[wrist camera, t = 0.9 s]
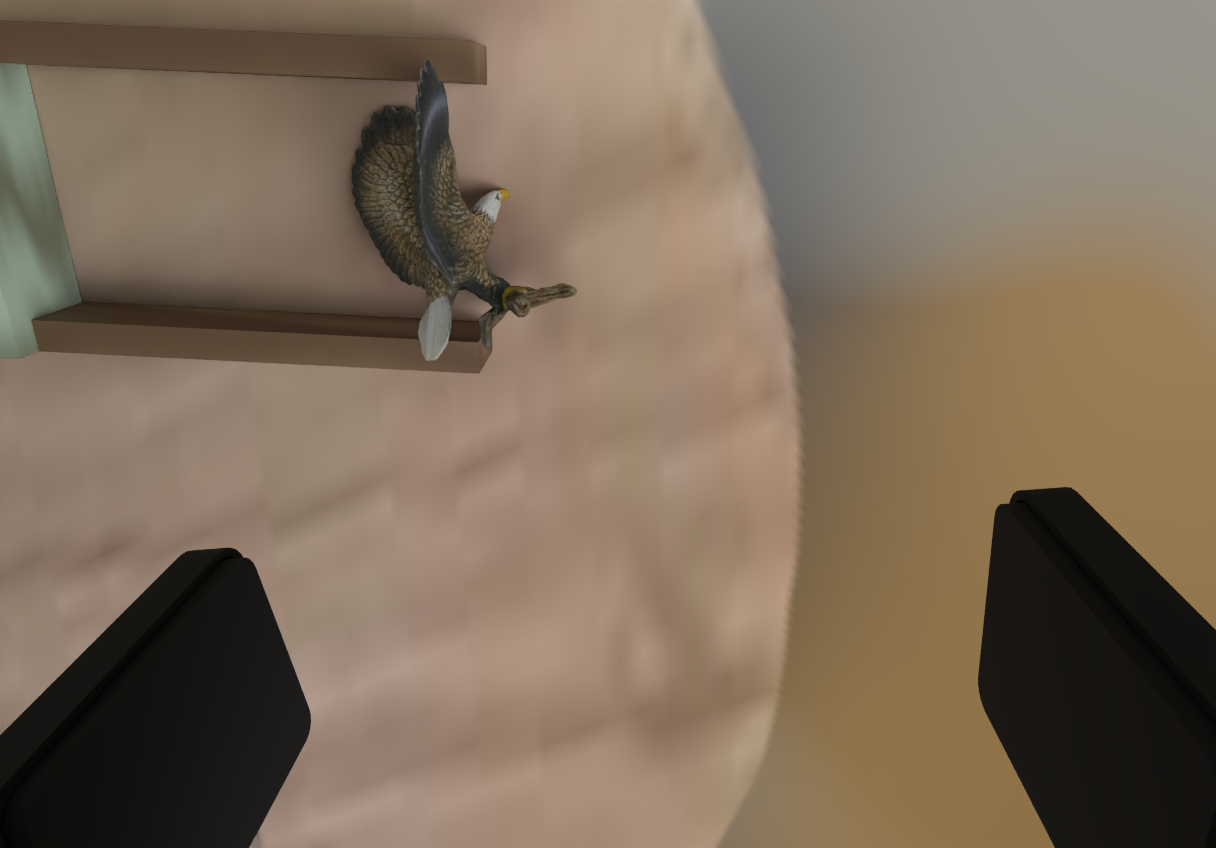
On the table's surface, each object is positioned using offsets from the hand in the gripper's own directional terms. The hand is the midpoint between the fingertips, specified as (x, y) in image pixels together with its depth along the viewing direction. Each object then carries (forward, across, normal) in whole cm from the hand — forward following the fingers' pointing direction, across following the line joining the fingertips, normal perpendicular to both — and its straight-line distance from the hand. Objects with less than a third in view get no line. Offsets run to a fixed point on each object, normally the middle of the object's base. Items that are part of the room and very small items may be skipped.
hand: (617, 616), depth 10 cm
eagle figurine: (+24, +8, -2) cm, 25 cm away
